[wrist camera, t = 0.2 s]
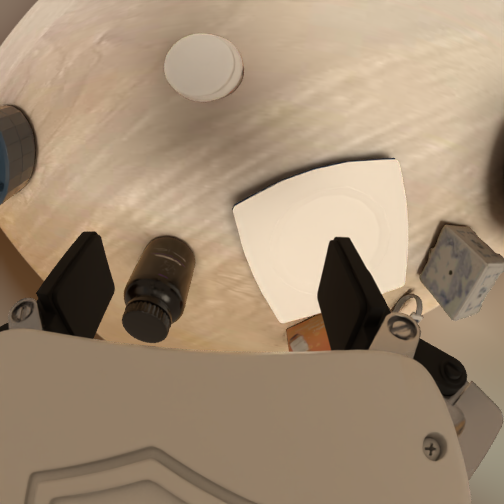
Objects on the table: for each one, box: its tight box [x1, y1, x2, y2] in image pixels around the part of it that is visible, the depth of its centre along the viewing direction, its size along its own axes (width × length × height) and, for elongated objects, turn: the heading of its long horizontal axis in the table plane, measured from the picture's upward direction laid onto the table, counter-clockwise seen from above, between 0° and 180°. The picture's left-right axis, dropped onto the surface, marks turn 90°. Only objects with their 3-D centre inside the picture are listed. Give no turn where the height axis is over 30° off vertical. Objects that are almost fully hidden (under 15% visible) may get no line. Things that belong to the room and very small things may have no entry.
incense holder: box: [420, 225, 504, 321], centre depth 31 cm, size 10×8×10 cm
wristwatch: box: [392, 294, 423, 323], centre depth 39 cm, size 6×3×5 cm, turn 156°
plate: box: [232, 158, 408, 323], centre depth 33 cm, size 20×20×3 cm
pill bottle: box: [164, 33, 244, 102], centre depth 19 cm, size 6×6×10 cm
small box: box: [286, 313, 331, 352], centre depth 39 cm, size 8×6×10 cm
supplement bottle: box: [122, 237, 195, 343], centre depth 30 cm, size 7×7×12 cm
